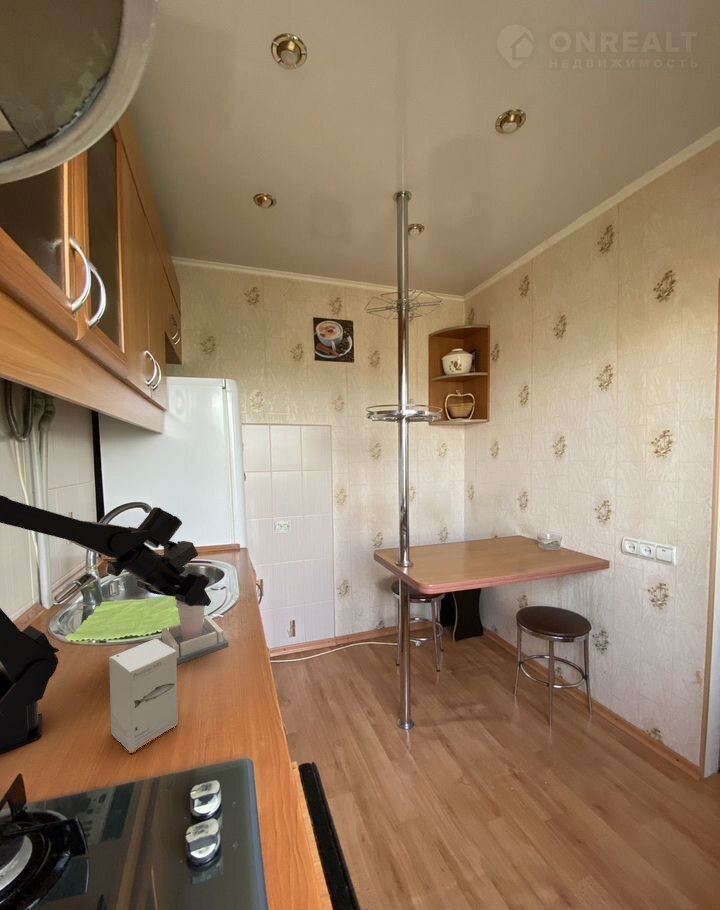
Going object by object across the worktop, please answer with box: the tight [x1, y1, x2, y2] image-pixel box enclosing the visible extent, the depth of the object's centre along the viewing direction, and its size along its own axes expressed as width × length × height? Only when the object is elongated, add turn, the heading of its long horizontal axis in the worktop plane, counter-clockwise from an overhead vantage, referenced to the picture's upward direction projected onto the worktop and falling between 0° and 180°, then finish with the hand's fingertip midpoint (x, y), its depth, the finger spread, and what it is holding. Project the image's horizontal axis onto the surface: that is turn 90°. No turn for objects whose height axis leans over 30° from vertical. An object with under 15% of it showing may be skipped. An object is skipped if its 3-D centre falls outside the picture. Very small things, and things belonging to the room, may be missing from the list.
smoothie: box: [175, 600, 206, 642], centre depth 85 cm, size 6×6×14 cm
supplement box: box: [108, 638, 179, 752], centre depth 60 cm, size 7×7×13 cm
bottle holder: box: [157, 614, 229, 666], centre depth 86 cm, size 12×12×4 cm
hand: (196, 599), depth 87 cm, fingers open, 9 cm apart
